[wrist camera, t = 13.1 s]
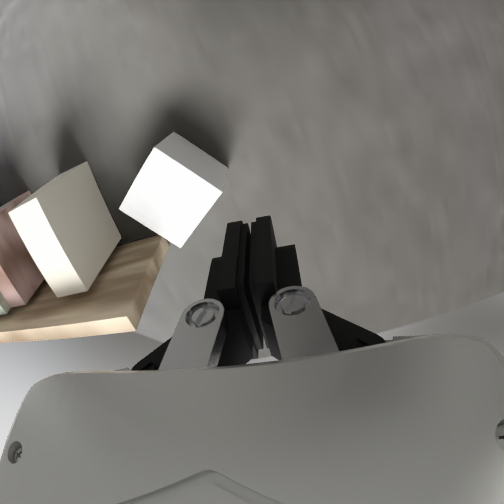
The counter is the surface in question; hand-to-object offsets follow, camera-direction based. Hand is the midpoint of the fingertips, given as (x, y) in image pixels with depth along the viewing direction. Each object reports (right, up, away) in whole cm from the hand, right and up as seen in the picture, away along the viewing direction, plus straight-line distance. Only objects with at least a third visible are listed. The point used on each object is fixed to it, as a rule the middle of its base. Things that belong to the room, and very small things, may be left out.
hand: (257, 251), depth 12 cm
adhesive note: (-6, +7, +15) cm, 18 cm away
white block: (-17, +5, +17) cm, 24 cm away
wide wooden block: (-21, +4, +17) cm, 27 cm away
